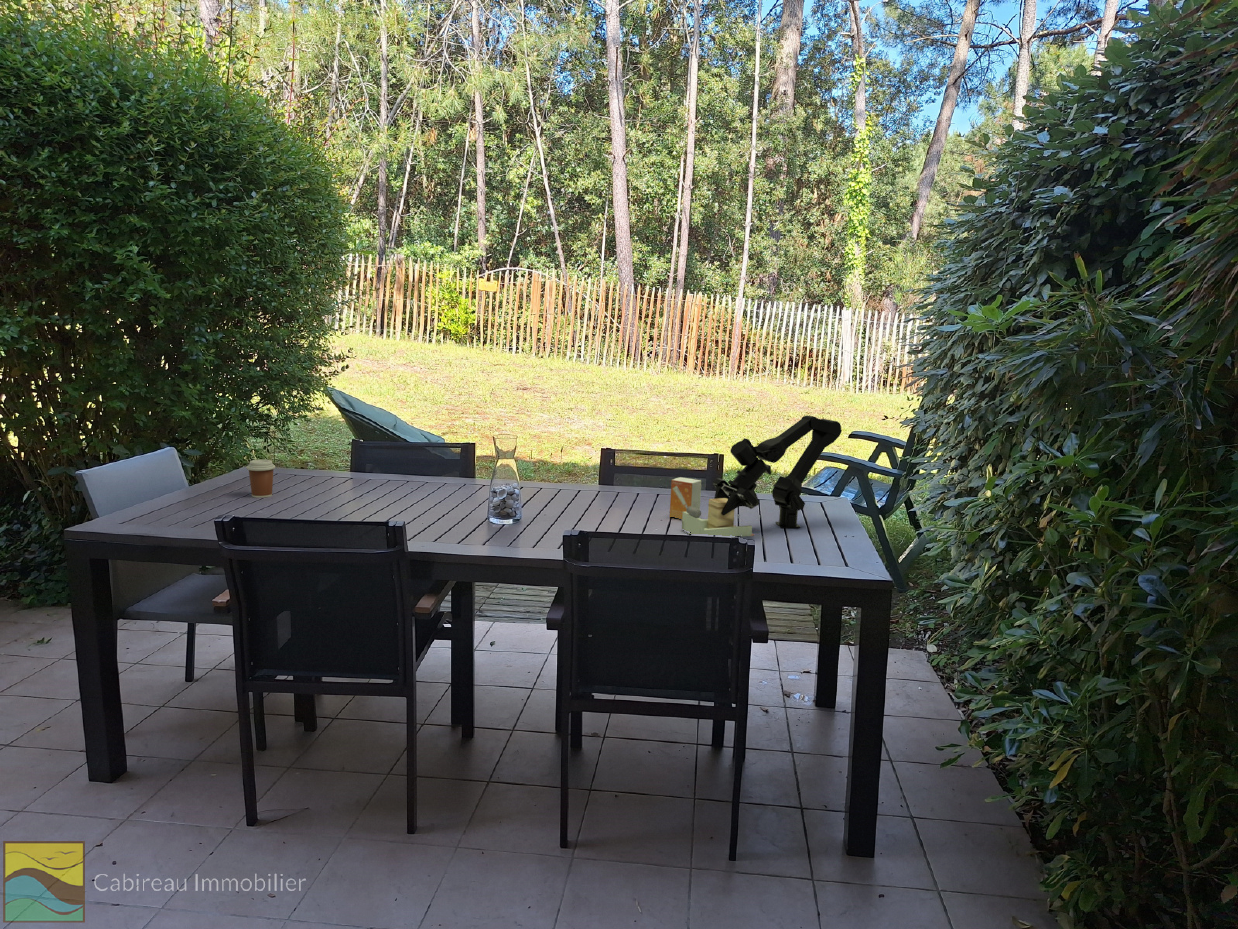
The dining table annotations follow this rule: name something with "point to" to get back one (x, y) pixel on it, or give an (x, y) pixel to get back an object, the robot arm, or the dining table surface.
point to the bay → (699, 525)
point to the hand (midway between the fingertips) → (717, 512)
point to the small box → (684, 495)
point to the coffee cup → (261, 477)
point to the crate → (719, 514)
